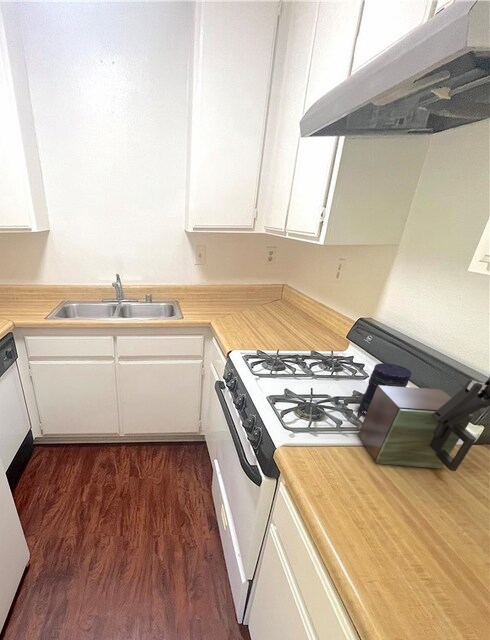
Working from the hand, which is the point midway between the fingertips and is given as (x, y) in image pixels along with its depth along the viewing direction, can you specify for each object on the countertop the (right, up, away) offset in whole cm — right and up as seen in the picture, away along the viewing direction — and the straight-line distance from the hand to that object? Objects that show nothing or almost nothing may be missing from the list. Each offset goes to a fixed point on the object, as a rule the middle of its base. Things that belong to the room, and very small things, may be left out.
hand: (465, 451), depth 77 cm
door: (-5, -6, +9) cm, 12 cm away
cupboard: (-4, 0, +17) cm, 18 cm away
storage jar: (0, +10, +34) cm, 35 cm away
